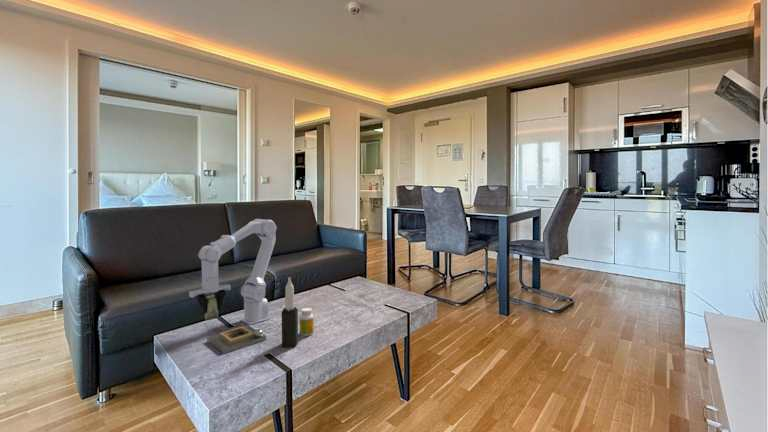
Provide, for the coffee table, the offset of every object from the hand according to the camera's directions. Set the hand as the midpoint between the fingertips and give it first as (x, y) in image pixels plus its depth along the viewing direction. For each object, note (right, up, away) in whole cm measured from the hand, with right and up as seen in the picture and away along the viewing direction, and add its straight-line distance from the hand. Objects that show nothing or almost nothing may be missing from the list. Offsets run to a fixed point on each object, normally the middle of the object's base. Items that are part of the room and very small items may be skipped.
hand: (211, 311), depth 134 cm
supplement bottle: (+37, -10, +2) cm, 38 cm away
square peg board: (+12, -10, -5) cm, 16 cm away
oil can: (0, -2, 0) cm, 2 cm away
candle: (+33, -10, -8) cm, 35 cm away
